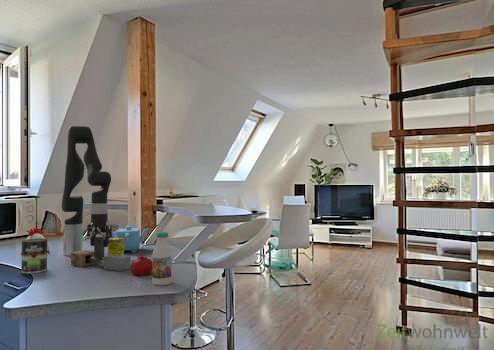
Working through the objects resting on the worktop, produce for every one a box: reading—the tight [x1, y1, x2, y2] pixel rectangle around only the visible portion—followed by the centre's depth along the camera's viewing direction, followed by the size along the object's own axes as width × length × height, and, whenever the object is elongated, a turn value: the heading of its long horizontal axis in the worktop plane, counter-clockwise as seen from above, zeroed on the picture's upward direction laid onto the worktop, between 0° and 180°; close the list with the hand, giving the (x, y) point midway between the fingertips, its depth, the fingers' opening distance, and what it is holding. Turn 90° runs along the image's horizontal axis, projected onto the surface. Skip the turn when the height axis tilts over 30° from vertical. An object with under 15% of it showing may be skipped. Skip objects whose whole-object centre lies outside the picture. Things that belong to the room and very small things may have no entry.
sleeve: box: [103, 254, 132, 272], centre depth 166 cm, size 11×6×6 cm, turn 63°
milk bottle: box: [151, 231, 173, 286], centre depth 141 cm, size 8×8×20 cm
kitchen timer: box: [20, 227, 50, 255], centre depth 204 cm, size 14×14×15 cm
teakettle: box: [111, 225, 150, 253], centre depth 210 cm, size 19×19×15 cm
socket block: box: [70, 249, 95, 268], centre depth 176 cm, size 8×8×6 cm
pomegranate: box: [129, 252, 152, 276], centre depth 156 cm, size 10×10×9 cm
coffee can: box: [20, 238, 49, 275], centre depth 163 cm, size 10×10×14 cm
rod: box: [89, 235, 105, 266], centre depth 169 cm, size 21×3×13 cm, turn 63°
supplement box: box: [107, 238, 125, 256], centre depth 187 cm, size 6×6×11 cm
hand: (99, 246), depth 171 cm, fingers open, 8 cm apart
